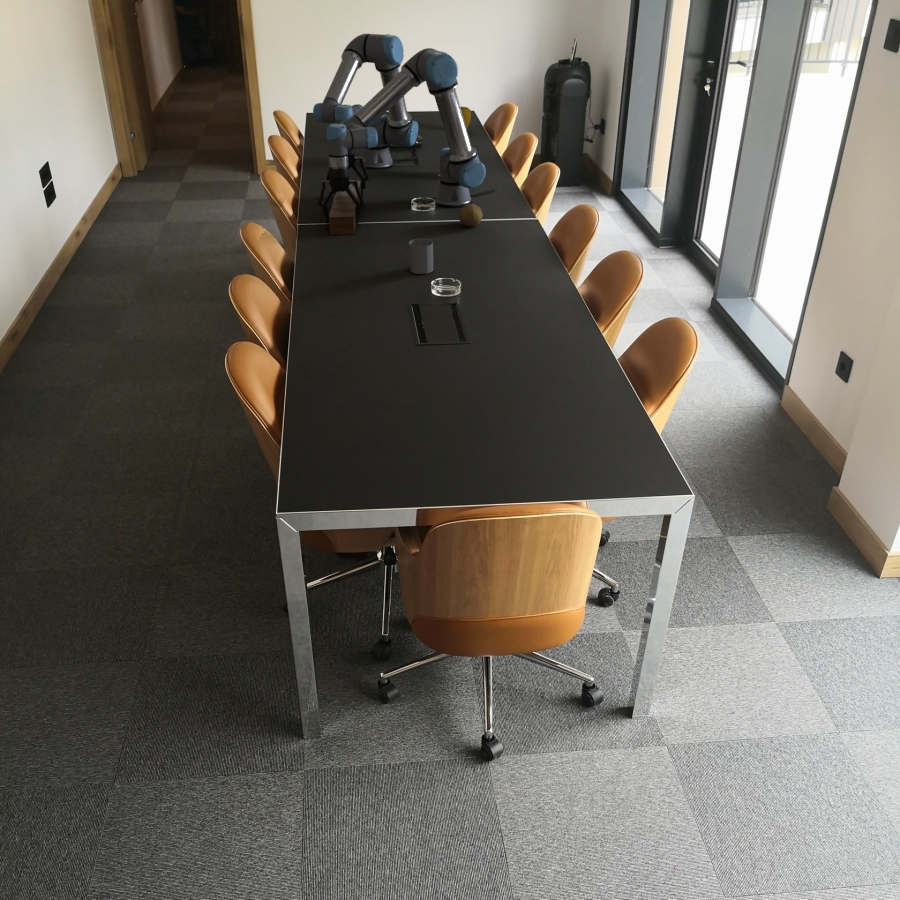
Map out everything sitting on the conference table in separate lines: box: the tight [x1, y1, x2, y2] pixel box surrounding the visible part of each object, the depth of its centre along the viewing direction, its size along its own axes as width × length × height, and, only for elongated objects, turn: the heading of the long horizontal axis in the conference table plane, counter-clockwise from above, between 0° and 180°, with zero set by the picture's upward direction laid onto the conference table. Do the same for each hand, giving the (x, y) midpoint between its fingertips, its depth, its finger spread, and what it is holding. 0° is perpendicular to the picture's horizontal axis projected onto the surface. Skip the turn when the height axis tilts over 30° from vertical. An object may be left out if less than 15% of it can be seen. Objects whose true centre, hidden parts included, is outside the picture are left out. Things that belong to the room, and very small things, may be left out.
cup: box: [408, 237, 434, 275], centre depth 305 cm, size 8×8×10 cm
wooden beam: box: [328, 180, 362, 235], centre depth 360 cm, size 51×10×7 cm, turn 2°
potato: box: [458, 203, 484, 228], centre depth 347 cm, size 10×14×8 cm
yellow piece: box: [460, 105, 472, 130], centre depth 487 cm, size 11×11×13 cm
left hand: (348, 196), depth 376 cm, fingers open, 11 cm apart
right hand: (342, 222), depth 346 cm, fingers open, 11 cm apart
